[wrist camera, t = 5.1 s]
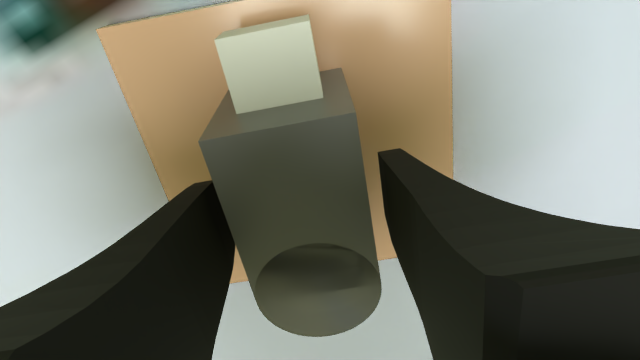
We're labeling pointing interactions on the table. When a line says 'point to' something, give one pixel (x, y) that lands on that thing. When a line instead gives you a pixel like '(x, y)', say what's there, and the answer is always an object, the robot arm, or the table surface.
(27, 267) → the table surface
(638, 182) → the table surface
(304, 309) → the usb plug
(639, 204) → the table surface
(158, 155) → the coaster
